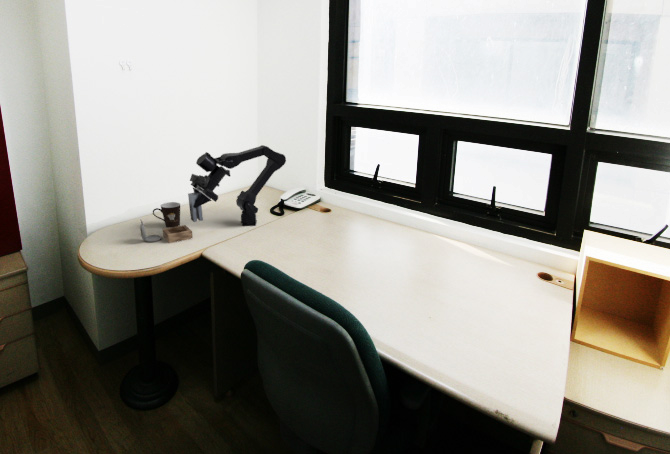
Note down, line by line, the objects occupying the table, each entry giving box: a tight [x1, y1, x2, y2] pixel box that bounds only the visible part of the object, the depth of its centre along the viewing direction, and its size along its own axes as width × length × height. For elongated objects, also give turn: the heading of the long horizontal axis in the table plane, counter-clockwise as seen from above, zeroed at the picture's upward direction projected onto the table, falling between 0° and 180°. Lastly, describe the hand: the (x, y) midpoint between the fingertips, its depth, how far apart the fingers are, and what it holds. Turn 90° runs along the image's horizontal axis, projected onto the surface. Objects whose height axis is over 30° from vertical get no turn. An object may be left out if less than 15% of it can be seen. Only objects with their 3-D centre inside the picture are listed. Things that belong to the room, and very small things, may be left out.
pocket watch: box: [139, 218, 162, 243], centre depth 191 cm, size 8×8×10 cm
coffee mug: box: [152, 201, 181, 228], centre depth 209 cm, size 12×9×10 cm
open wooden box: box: [162, 224, 194, 244], centre depth 195 cm, size 10×9×4 cm
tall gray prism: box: [187, 192, 204, 223], centre depth 196 cm, size 4×4×12 cm
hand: (192, 206), depth 195 cm, fingers closed on tall gray prism, 4 cm apart
